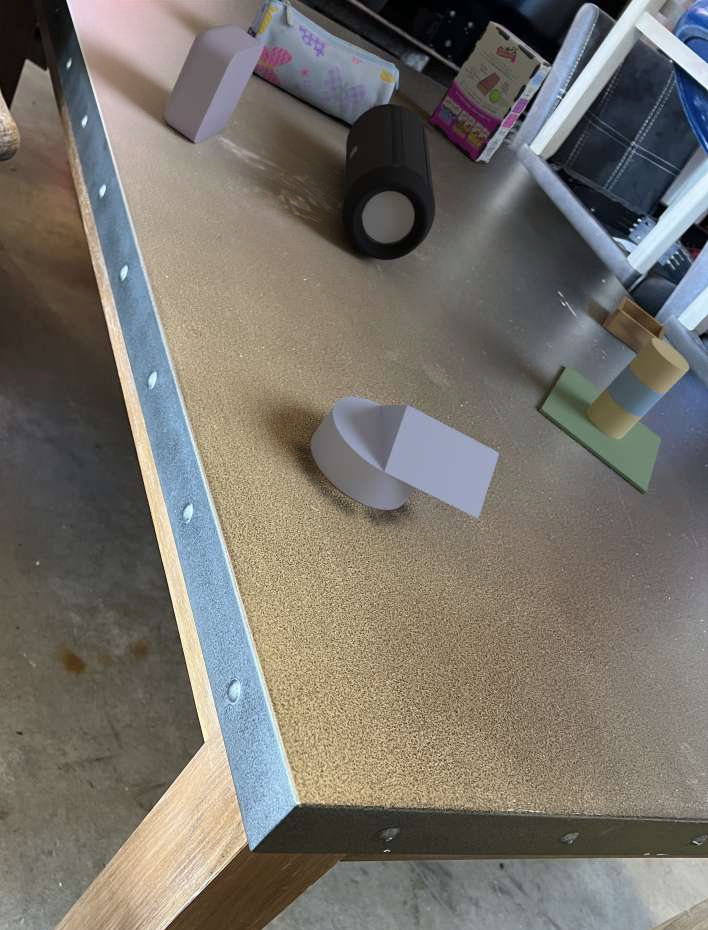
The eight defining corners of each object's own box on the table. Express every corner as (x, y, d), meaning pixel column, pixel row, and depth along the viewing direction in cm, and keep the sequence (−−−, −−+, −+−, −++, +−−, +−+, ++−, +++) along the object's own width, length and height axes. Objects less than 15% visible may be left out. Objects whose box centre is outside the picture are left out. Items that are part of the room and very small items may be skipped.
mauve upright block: (190, 105, 109) (230, 16, 103) (224, 129, 109) (266, 43, 103) (154, 119, 101) (195, 24, 95) (191, 145, 102) (234, 53, 95)
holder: (650, 344, 136) (666, 328, 135) (645, 359, 131) (661, 342, 129) (609, 312, 137) (624, 295, 135) (601, 325, 131) (617, 308, 129)
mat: (659, 441, 113) (661, 438, 113) (643, 494, 101) (646, 491, 101) (565, 367, 114) (567, 364, 114) (538, 411, 101) (541, 408, 101)
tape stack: (624, 429, 109) (691, 361, 103) (618, 445, 105) (687, 375, 99) (589, 402, 109) (654, 332, 103) (582, 416, 105) (649, 345, 99)
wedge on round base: (444, 478, 82) (312, 411, 79) (493, 420, 78) (356, 347, 74) (452, 547, 76) (308, 478, 72) (506, 488, 71) (356, 411, 68)
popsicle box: (488, 164, 157) (555, 67, 146) (474, 163, 153) (542, 63, 143) (441, 122, 159) (503, 23, 149) (426, 120, 156) (489, 18, 145)
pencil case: (231, 66, 125) (266, -8, 119) (234, 46, 131) (268, -25, 125) (368, 147, 131) (407, 80, 125) (365, 124, 137) (403, 59, 131)
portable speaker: (331, 157, 121) (374, 81, 115) (397, 196, 124) (443, 124, 117) (323, 240, 103) (374, 155, 96) (401, 285, 105) (456, 205, 99)
